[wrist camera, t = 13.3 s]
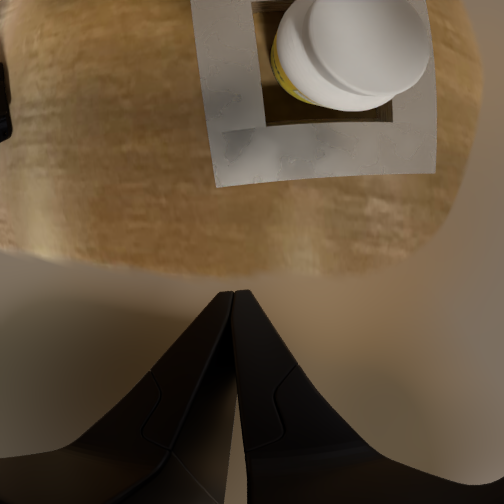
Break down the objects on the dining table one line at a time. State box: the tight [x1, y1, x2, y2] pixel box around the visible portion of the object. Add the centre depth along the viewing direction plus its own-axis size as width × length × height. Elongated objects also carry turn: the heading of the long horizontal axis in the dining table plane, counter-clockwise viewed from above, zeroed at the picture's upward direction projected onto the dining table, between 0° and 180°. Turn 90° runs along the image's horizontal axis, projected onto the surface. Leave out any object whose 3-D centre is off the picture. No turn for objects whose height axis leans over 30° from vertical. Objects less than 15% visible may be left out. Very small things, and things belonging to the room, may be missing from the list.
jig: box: [190, 0, 437, 188], centre depth 14 cm, size 13×13×2 cm
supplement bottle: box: [270, 0, 430, 111], centre depth 11 cm, size 5×5×10 cm
